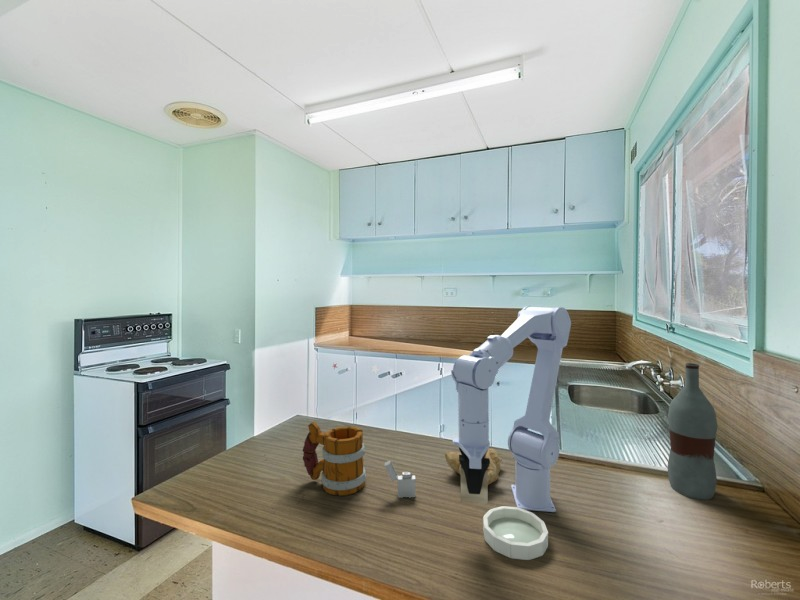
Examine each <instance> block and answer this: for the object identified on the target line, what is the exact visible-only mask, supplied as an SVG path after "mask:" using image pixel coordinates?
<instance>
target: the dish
mask: <svg viewBox="0 0 800 600" xmlns="http://www.w3.org/2000/svg"><path fill="white" fill-rule="evenodd" d="M482 531H483V540H484V541H485V542H486V543H487V544H488V545H489V547H490V548H491V549H492V550H493V551H494V552H496V553H498V554H501V555H502V556H505V557H507V558H509V559H513V560H514V559H515V560H523V561H531V560H533V559H536V558H537V559H538V558H540V557H542V556H543V555H544V554H545V553H546V551H547V549H548V547H549V530H548V529H547V526H546V523H545V521H544V520H542V519H541V518H540V517H539V516H538V515H536V514H535V512H531V511H530V510H524V509H521V508H518V507H517V506H506V505H502V506H497V507H494V508H490V509H489V510H488V511H487V512H486V513H485V514H484V515H483V517H482Z"/></svg>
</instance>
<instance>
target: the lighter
mask: <svg viewBox="0 0 800 600" xmlns="http://www.w3.org/2000/svg"><path fill="white" fill-rule="evenodd" d="M384 468H385V470H386V472H387V474H388V476H389V478H390V479H391V482H395V481H396V480H397V498H398V499H403V497H409V498H411V497H415V498H416V489H417V488H416V480H417V479H416V475H413V474H412V473H411V472H409V471H402V474H401V475H398V473H397V472H396V469H395V467H394V465H393V464H392V461H391V460H388V461H386V462H384ZM409 498H408V499H409Z"/></svg>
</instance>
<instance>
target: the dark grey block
mask: <svg viewBox="0 0 800 600" xmlns="http://www.w3.org/2000/svg"><path fill="white" fill-rule="evenodd" d="M488 486H489V484H488V473H487V470H486V472H485V475H484V478H483V483H482V488H481V492H480V494H469V492H468V488H467V483H466V477H465V473H464V470H463V468H462V466H461V475H460V502H461V503H462V502H463V503H473V504H483V505H485V504H486V505H487V504H488V495H489V494H488V493H489V491H488V490H489V489H488Z"/></svg>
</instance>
